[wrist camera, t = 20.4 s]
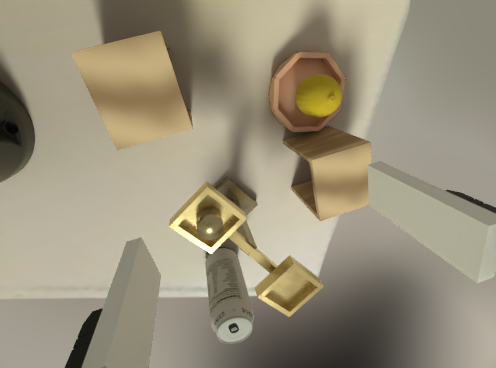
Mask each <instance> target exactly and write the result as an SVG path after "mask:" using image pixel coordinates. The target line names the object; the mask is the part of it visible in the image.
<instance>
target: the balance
mask: <svg viewBox="0 0 496 368" xmlns="http://www.w3.org/2000/svg"><path fill="white" fill-rule="evenodd" d="M257 205H258V204H257V202H256V201H255V200H254V199H253V198H252V197H250V196H249V195H248V194H247V193H246V192H244V191H243V190H242V189H241V188H240V187H239V186H237V185H236V184H235V183H234V182H233V181H231V180H230V179H229V178H228V177H226V178H225V179H224V180H223V181H222V182H221V183H220V184H219V186H218V187H217V188H216V189H215V188H214V187H213V186H211V185H210V184H209V183H208V182H205V184H204V185H203V186H202V187H201V188H200V189H199V190H198V191H197V192H196V193H195V194H194V195H193V196H192V197H191V198H190V199H189V200H188V201H187V202H186V203H185V204H184V205H183V207H182V208H181V209H180V210H179V211H178V212H177V213H176V214H175V215H174V216H173V217H172V218H171V219H170V224H169V227H170V228H172V229H173V230H175V231H177V232H178V233H180V234H181V235H183V236H184V237H186V238H187V239H189V240H190V241H192V242H193V243H195V244H196V245H198V246H200V247H201V248H203V249H204V250H206V251H207V252H209V253H210V254H212V253H213V252H214V251H215V250H216V249H217V248H218V247H219V246H220V245H221V244H222V243H223V242H224V241H225V240H226V239H227V238H229V239H230V240H232V241H233V242H234V243H235V244H236V245H238V246H239V247H240V248H241V250H242V251H243V252H245V253H246V254H248V255H249V256H251V257H252V258H253V259H254V260H255V261H256V262H258V263H259V264H260V265H261V266H262V267H264V268H265V269H266V270H267V271H268V272H269V273H270V274H269V275H268V276H267V277H266V278H265V279H264V280H263V281H262V282H260V283H259V284H258V285H257V286H256V287H255V291H256V294H257V297H258V298H259V299H261V300H263V301H264V302H266V303H267V304H269V305H271V306H272V307H274V308H276V309H277V310H279V311H280V312H282V313H284V314H285V315H287V316H288V317H290V316H291V315H292V314H293V313H294V312H295V311H297V310H298V309H299V308H300V307H301V306H302V305H303V304H304V303H305V302H307V301H308V300H309V299H310V298H311V297H312V296H314V295H315V294H316V293H317V292H318V291H319V290H320V289H321V288H323V287H324V286H323V284H322V283H321V281H320V279H319V278H318V277H317V276H316V275H314V274H313V273H312V272H310V271H309V270H308V269H307V268H305V267H304V266H303V265H302V264H300V263H299V262H298V261H296V260H295V259H294V258H293V257H291V256H288V257H287V258H286V259H285V260H284V261H283V262H282V263H281V264H280V265H279V266H277V265H276V264H274V263H273V262H272V261H271V260H270V259H269V258H267V257H266V256H265V255H264V254H263V253H262V252H260V251H259V250H258V249H257V247H256V244H255V242H254V239H253V237H252V234H251V232H250V229H249V227H248V224H247V222H246V220H247V215H248V214H249V213H250V212H251V211H252V210H253V209H254V208H255V207H256V206H257Z"/></svg>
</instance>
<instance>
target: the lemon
mask: <svg viewBox="0 0 496 368" xmlns="http://www.w3.org/2000/svg"><path fill="white" fill-rule="evenodd" d="M341 98H342V91H341V87H340V85H339V84H338V82H337V81H336V80H335V79H333V78H332V77H330V76H328V75H323V74H316V75H312V76H309V77H307V78H306V79H304V80H303V81H302V82H301V83H300V84H299V86H298V88H297V91H296V104H297V106H298V108H299V109H300V110H301V112H302V113H304V114H305V115H307V116H310V117H314V118H321V117H325V116H328V115H330V114H332V113H333V112H334V111H335V110H336V109H337V108H338V106H339V105H340V102H341Z"/></svg>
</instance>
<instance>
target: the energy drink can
mask: <svg viewBox="0 0 496 368" xmlns="http://www.w3.org/2000/svg"><path fill="white" fill-rule="evenodd" d="M205 264H206V275H207V285H208V296H209V305H210V317H211V326H212V328H213V330H214V331H215V332H216V334H217V337H218V339H219V340H220V341H221V342H223V343H227V344H234V343H238V342H241V341H243V340H245V339H246V338H247V337H248V336H249V335H250V334H251V332H252V323H253V319H254V314H253V310H252V306H251V303H250V299H249V295H248V292H247V288H246V284H245V281H244V277H243V274H242V270H241V266H240V263H239V259H238V256H237V254H236V253H235V252H234V251H232V250H230V249H227V248H219V249H216V250H215V251H214V252H213V253H212V254H210V255H209V256H208V257H207V259H206V263H205Z"/></svg>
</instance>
